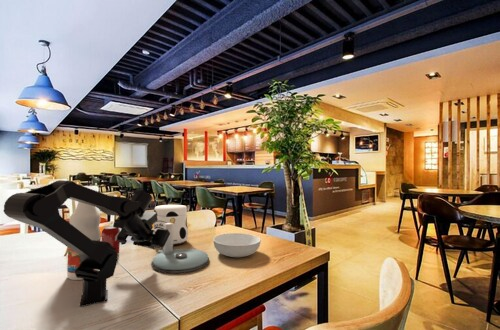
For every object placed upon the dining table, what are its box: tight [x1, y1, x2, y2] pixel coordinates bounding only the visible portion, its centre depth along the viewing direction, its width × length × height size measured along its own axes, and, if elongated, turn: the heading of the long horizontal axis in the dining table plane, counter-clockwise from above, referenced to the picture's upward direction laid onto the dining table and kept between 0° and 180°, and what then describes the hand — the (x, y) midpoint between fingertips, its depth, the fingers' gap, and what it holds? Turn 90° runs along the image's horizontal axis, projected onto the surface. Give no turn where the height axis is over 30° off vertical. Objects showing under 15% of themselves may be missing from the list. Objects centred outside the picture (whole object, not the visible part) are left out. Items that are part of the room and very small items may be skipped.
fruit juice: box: [66, 201, 102, 281], centre depth 88 cm, size 9×9×28 cm
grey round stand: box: [152, 223, 209, 270], centre depth 101 cm, size 21×23×13 cm
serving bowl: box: [212, 232, 261, 258], centre depth 113 cm, size 21×21×7 cm
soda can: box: [101, 224, 121, 255], centre depth 107 cm, size 7×7×12 cm
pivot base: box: [150, 247, 210, 275], centre depth 102 cm, size 24×22×5 cm
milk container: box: [152, 204, 189, 247], centre depth 126 cm, size 17×17×18 cm
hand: (153, 247), depth 96 cm, fingers closed
